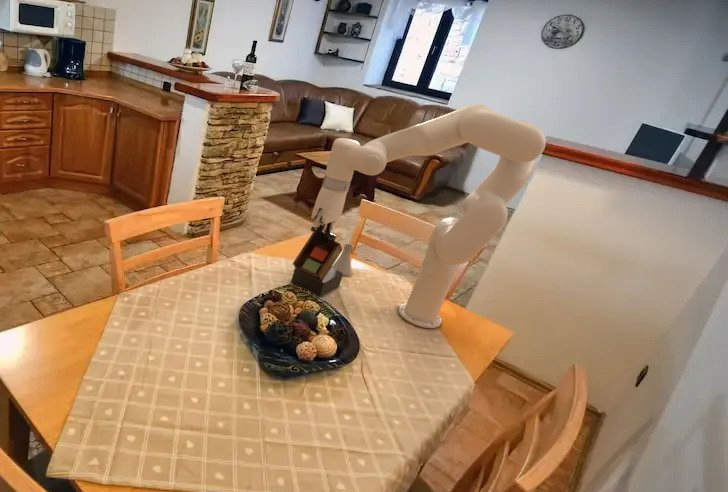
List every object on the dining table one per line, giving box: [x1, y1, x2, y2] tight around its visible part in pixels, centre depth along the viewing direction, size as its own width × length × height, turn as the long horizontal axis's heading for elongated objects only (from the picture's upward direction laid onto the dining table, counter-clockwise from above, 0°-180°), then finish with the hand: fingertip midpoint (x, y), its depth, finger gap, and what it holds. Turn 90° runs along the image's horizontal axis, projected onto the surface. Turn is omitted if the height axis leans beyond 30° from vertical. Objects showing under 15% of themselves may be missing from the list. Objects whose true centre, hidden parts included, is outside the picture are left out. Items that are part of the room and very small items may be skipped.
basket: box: [292, 225, 343, 282], centre depth 152 cm, size 12×10×8 cm
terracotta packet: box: [310, 247, 330, 263], centre depth 154 cm, size 3×5×2 cm
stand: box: [290, 267, 344, 298], centre depth 160 cm, size 12×11×5 cm
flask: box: [331, 242, 354, 276], centre depth 171 cm, size 7×7×10 cm
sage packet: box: [302, 259, 322, 274], centre depth 153 cm, size 3×5×2 cm
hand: (320, 242), depth 151 cm, fingers closed on basket
